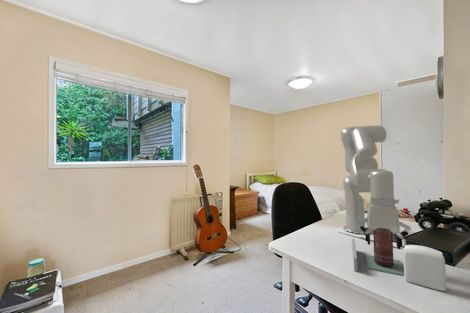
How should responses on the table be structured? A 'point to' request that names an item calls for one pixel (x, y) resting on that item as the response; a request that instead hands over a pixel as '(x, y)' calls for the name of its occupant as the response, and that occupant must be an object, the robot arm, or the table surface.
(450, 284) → the table surface
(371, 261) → the mat
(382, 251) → the can
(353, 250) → the acrylic wall
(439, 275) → the photo printer
